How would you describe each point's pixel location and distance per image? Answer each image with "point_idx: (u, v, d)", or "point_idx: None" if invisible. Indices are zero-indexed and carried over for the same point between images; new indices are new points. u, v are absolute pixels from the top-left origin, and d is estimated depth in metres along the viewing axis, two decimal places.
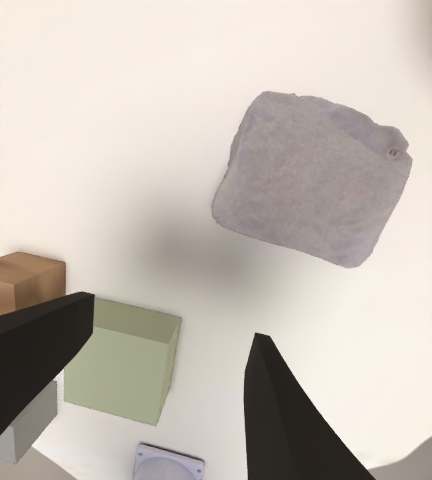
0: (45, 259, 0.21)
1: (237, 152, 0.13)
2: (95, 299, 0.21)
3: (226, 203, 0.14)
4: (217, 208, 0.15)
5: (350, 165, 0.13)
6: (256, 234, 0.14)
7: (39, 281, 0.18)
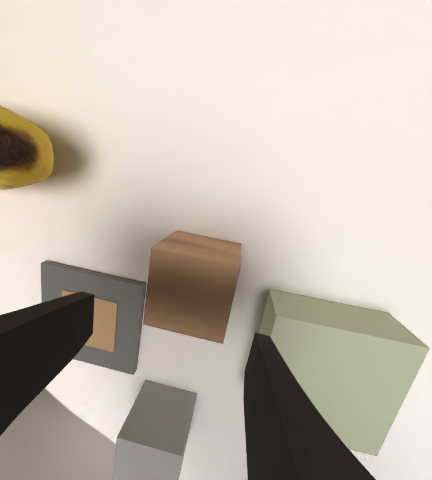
0: (216, 239, 0.16)
1: None
2: (275, 291, 0.17)
3: None
4: None
5: None
6: None
7: None
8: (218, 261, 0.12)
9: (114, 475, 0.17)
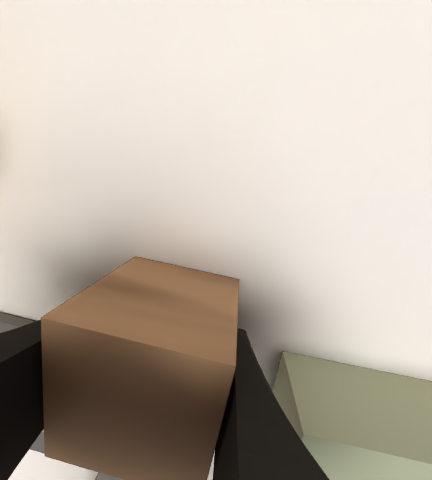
0: (198, 273, 0.10)
1: None
2: (293, 357, 0.10)
3: None
4: None
5: None
6: None
7: None
8: (186, 352, 0.05)
9: None
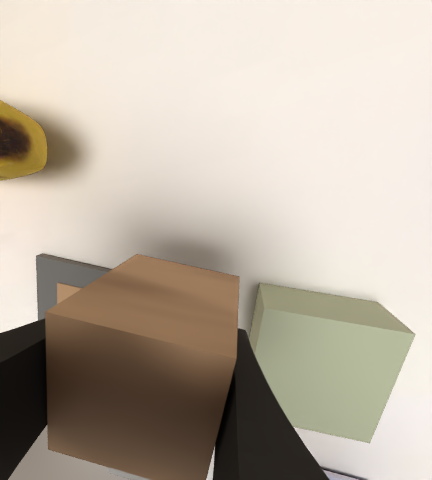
0: (199, 271, 0.10)
1: None
2: (265, 285, 0.17)
3: None
4: None
5: None
6: None
7: None
8: (188, 345, 0.05)
9: None
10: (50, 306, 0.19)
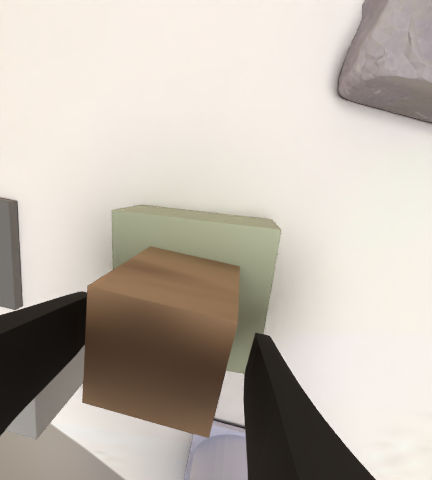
0: (205, 261, 0.11)
1: None
2: (146, 205, 0.15)
3: (407, 19, 0.08)
4: (381, 38, 0.09)
5: None
6: None
7: None
8: (200, 312, 0.07)
9: None
10: None
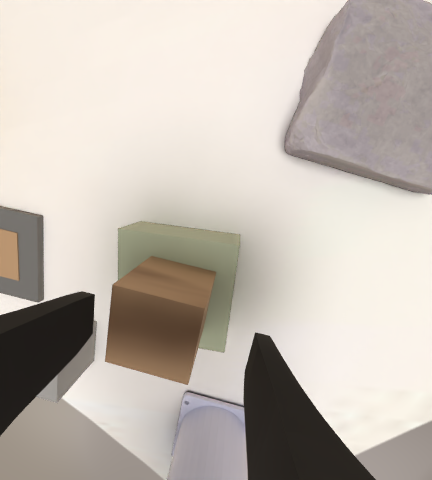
0: (190, 267, 0.16)
1: (332, 56, 0.12)
2: (143, 222, 0.19)
3: (314, 119, 0.13)
4: (301, 127, 0.13)
5: None
6: (346, 153, 0.13)
7: (208, 300, 0.13)
8: (182, 302, 0.11)
9: None
10: None
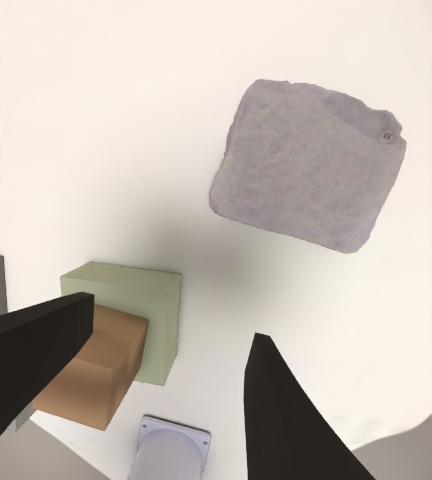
0: (124, 315, 0.17)
1: (232, 140, 0.14)
2: (93, 263, 0.21)
3: (222, 191, 0.14)
4: (213, 197, 0.15)
5: (344, 150, 0.13)
6: (253, 221, 0.15)
7: (130, 352, 0.15)
8: (93, 363, 0.13)
9: None
10: None
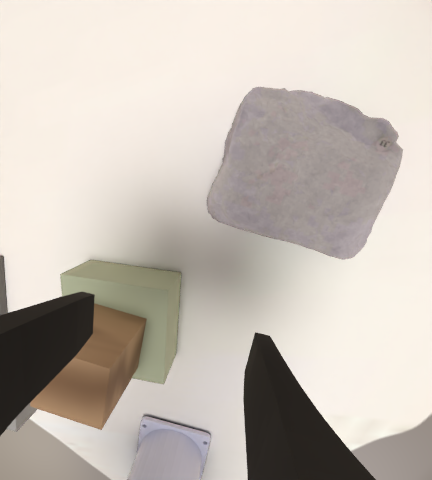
0: (122, 314, 0.17)
1: (230, 147, 0.14)
2: (93, 261, 0.21)
3: (220, 198, 0.14)
4: (211, 203, 0.15)
5: (341, 157, 0.14)
6: (251, 227, 0.15)
7: (127, 351, 0.15)
8: (90, 362, 0.13)
9: None
10: None
